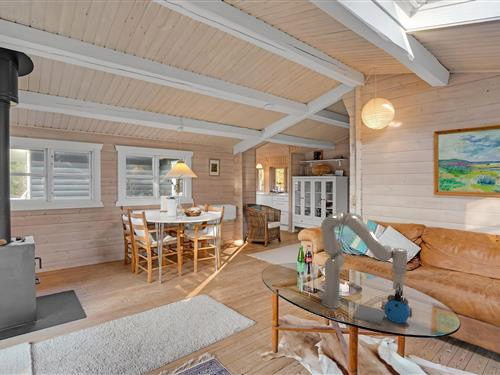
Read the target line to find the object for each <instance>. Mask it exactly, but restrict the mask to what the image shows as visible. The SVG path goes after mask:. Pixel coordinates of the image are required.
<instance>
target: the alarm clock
mask: <svg viewBox="0 0 500 375" xmlns="http://www.w3.org/2000/svg"><path fill="white" fill-rule="evenodd" d="M386 299H387V300H388V301H387V303H386V305H385V307H384V309H383V310H384V311H385V316H386V318H388V320H390V321H391V322H393V323H395V324H404V323H406V322H407V321H408V319H409V318H410V317H409V314H410V308H411V307H410V306H409V301H408V299H407V298H406V297H403V296H401V302H398V301H395V294H394V295H393V294H389V295H387V297H386Z"/></svg>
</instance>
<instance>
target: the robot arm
mask: <svg viewBox="0 0 500 375" xmlns="http://www.w3.org/2000/svg"><path fill="white" fill-rule="evenodd" d="M340 226H341V227H342V226H343V227H344V226H346V227H348V228H349V229H350V230H351V231H352V232H353V233H354V234H355V235H357V237H358V238H359V239H360V240H361V241H362V243H364V245H365V246H366V248H367V249H368V250H369V251H370V253H371V254H373V255H374V256H375V258H377V260H379V261H381V262H388V261H390V260H391V259H392V262H391V264H392V266H391V267H392V269H391V270H392V272H393V279H392V280H393V281H392V282H393V284H392V289H393V290H395V291H394V296H395V301H398V302H401V297H403V293H404V291H403V289H404V286H405V275H406V274H407V272H408V270H407V268H408V267H407V266H408V265H407V264H408V251H407V249H405V248H401V247H393V246H389V245H382V244H381V243H380V242H379V240H378V239H377V238H376V236H375V233H374V232H373V230H372V229H371V228H370V227H369V226H368V225H367V224H366V223H365V222H364V221H363V218H362V216H361V215H360V214H359V213H347V212H346V213H345V212H335V213H332V214H329V215H328V216H327V217H325V218H324V219H323V221H322V222H321V235H322V244H323V250H324V253H325V254H326V255H328V256H329V257H327V258H326V260H325V261H324V265H323V268H324V295H322V294H318V296H317V297H318V299H319V300H321V305H322V306H324V307H326V308H329V309H339V308H341V307H342V302H341V301H340V288H341V287H340V286H341V275H340V274H341V272H340V270H341V268H342V267H343V266H344V264H345V259H344V250H343V245H342V243H341V241H340V240H339V239H337V236H336V232H335V228H339V227H340Z"/></svg>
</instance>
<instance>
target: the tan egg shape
mask: <svg viewBox="0 0 500 375" xmlns="http://www.w3.org/2000/svg"><path fill="white" fill-rule="evenodd" d="M387 301H388V300H387V298H382V299H381V310H384V307H385V305H386V303H387Z"/></svg>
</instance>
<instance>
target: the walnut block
mask: <svg viewBox="0 0 500 375" xmlns="http://www.w3.org/2000/svg"><path fill="white" fill-rule="evenodd" d="M409 308H410V314H409V317H408V318H412V315H413V308H412V307H409Z"/></svg>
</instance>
